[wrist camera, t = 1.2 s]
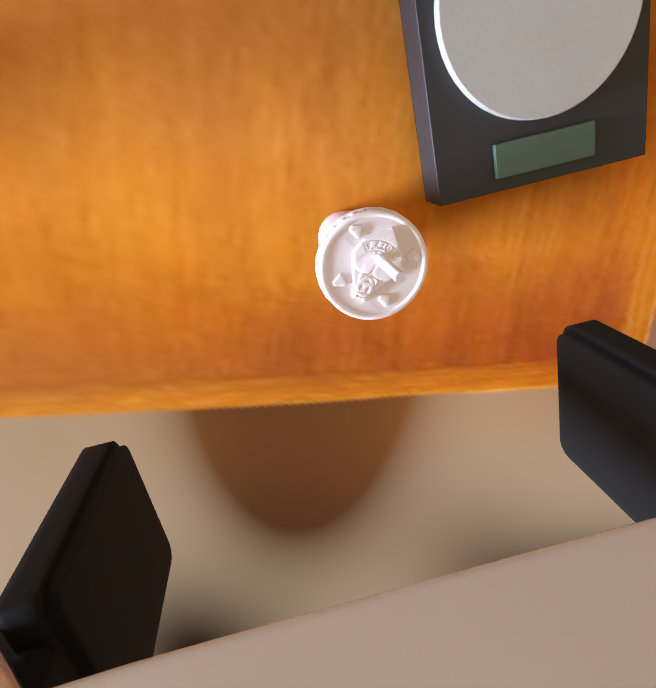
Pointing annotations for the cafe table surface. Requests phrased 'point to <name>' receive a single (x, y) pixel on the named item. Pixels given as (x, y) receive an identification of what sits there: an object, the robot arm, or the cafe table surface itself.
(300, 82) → the cafe table surface
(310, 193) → the cafe table surface
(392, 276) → the smoothie
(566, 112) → the scale
